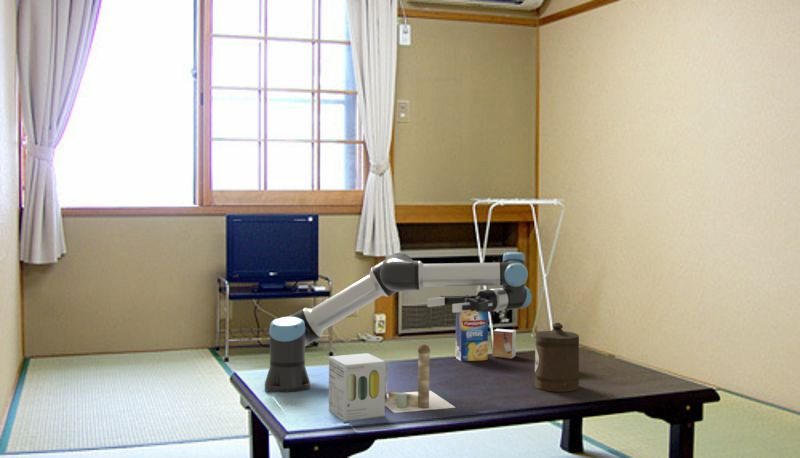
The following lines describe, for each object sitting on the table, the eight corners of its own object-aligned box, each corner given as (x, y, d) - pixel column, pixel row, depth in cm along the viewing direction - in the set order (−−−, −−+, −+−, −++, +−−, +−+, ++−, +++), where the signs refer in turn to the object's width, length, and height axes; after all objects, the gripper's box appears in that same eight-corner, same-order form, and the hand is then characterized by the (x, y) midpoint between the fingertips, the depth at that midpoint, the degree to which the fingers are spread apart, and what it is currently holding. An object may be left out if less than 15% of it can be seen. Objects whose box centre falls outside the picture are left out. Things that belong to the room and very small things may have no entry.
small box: (492, 357, 360) (492, 330, 359) (496, 354, 365) (496, 328, 364) (512, 358, 357) (512, 332, 356) (515, 356, 362) (516, 329, 361)
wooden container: (546, 379, 322) (547, 317, 321) (585, 385, 314) (587, 322, 312) (526, 387, 310) (527, 323, 309) (566, 394, 302) (568, 328, 300)
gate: (387, 402, 287) (387, 341, 285) (393, 400, 290) (393, 339, 288) (425, 409, 280) (426, 346, 278) (431, 406, 283) (432, 344, 281)
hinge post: (377, 402, 287) (377, 364, 286) (373, 399, 291) (373, 361, 290) (390, 401, 289) (391, 363, 288) (386, 397, 293) (386, 360, 292)
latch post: (398, 408, 280) (399, 395, 280) (395, 406, 283) (395, 393, 283) (408, 407, 281) (408, 394, 281) (405, 405, 284) (405, 392, 284)
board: (394, 415, 275) (394, 412, 275) (372, 397, 296) (372, 395, 296) (455, 410, 282) (455, 407, 282) (430, 392, 303) (430, 390, 303)
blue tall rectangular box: (487, 359, 354) (488, 303, 353) (460, 361, 351) (461, 304, 350) (481, 356, 361) (482, 300, 359) (455, 357, 358) (455, 301, 356)
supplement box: (344, 424, 266) (344, 364, 265) (327, 412, 278) (328, 356, 277) (385, 419, 272) (385, 360, 270) (368, 408, 284) (368, 352, 282)
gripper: (515, 316, 297) (463, 322, 285) (468, 306, 318) (418, 311, 306) (516, 293, 296) (464, 298, 285) (468, 285, 317) (418, 289, 305)
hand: (440, 305), depth 295 cm, fingers open, 13 cm apart
